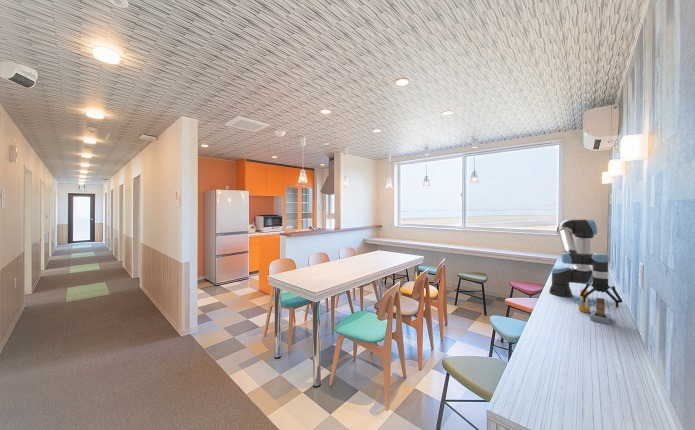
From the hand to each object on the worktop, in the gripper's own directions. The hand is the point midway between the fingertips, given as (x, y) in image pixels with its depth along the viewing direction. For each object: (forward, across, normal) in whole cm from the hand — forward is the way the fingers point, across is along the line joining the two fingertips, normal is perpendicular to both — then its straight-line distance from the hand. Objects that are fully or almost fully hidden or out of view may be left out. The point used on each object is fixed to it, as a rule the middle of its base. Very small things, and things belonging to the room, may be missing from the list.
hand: (600, 309), depth 178 cm
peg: (+7, 0, 0) cm, 7 cm away
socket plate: (+7, 0, +1) cm, 7 cm away
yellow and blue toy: (+7, -9, +13) cm, 17 cm away
